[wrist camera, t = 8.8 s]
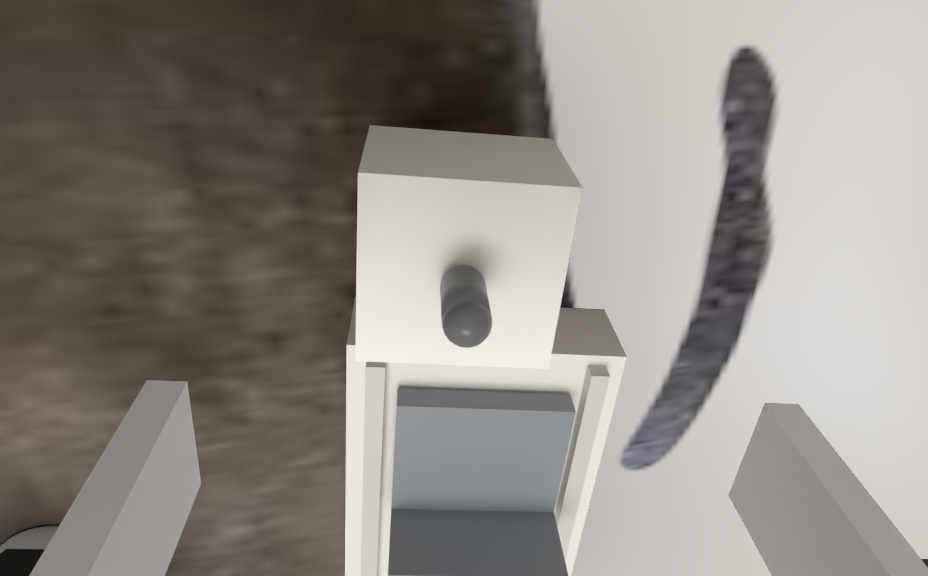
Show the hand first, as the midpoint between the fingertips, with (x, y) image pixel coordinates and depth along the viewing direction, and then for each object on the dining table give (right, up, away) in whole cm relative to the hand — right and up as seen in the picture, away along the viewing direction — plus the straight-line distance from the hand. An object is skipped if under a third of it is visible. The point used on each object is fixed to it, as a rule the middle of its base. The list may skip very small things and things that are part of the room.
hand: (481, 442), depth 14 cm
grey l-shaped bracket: (0, -4, +16) cm, 17 cm away
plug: (-1, +8, +14) cm, 16 cm away
